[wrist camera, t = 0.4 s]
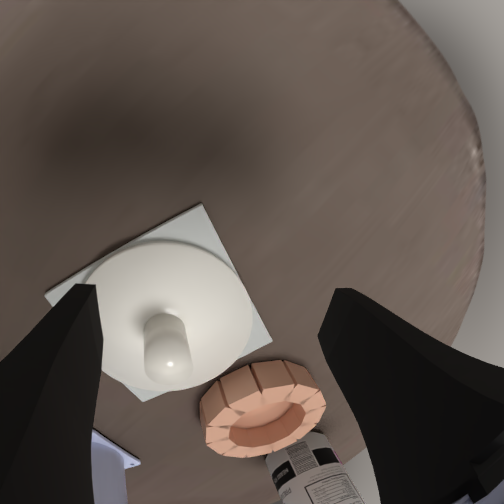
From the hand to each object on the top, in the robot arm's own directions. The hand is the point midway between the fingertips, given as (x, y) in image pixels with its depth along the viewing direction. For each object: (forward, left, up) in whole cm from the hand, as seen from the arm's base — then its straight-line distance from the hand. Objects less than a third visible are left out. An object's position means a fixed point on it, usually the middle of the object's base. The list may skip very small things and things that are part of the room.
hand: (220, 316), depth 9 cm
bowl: (-3, -19, -10) cm, 22 cm away
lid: (-5, -6, -10) cm, 13 cm away
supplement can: (-3, -32, -11) cm, 34 cm away
